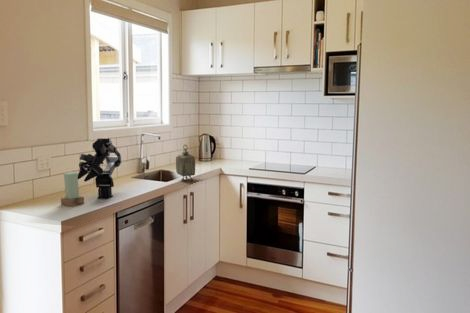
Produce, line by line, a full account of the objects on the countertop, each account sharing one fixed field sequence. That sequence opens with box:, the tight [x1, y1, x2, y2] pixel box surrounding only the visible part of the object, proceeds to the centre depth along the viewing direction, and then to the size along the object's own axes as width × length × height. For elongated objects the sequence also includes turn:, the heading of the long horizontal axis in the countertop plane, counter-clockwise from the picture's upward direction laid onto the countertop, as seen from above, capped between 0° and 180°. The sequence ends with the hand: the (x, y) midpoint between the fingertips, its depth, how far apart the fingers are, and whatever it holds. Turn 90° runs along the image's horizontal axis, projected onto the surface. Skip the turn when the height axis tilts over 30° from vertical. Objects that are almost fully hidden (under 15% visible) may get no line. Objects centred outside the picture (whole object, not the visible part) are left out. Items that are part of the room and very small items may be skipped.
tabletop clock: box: [175, 144, 196, 182], centre depth 274 cm, size 14×9×25 cm, turn 28°
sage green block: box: [63, 171, 80, 199], centre depth 207 cm, size 5×5×13 cm
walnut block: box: [60, 195, 85, 208], centre depth 209 cm, size 8×8×4 cm
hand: (80, 180), depth 212 cm, fingers open, 9 cm apart
